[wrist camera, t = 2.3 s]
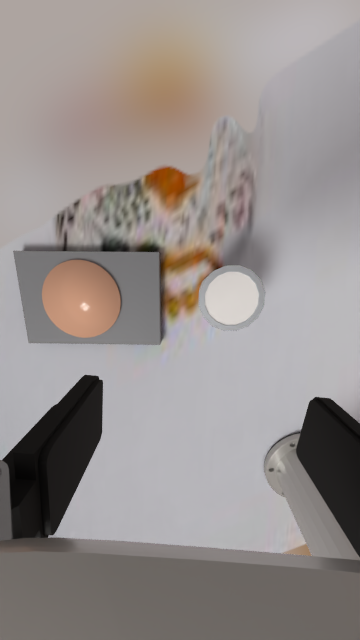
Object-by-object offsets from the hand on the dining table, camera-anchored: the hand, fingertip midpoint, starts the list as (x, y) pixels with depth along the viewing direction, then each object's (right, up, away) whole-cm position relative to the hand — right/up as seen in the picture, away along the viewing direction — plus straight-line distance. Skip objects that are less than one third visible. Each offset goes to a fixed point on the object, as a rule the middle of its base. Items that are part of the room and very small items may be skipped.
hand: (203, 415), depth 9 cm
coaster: (-14, +7, +18) cm, 23 cm away
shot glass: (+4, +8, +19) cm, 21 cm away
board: (-13, +7, +19) cm, 24 cm away
